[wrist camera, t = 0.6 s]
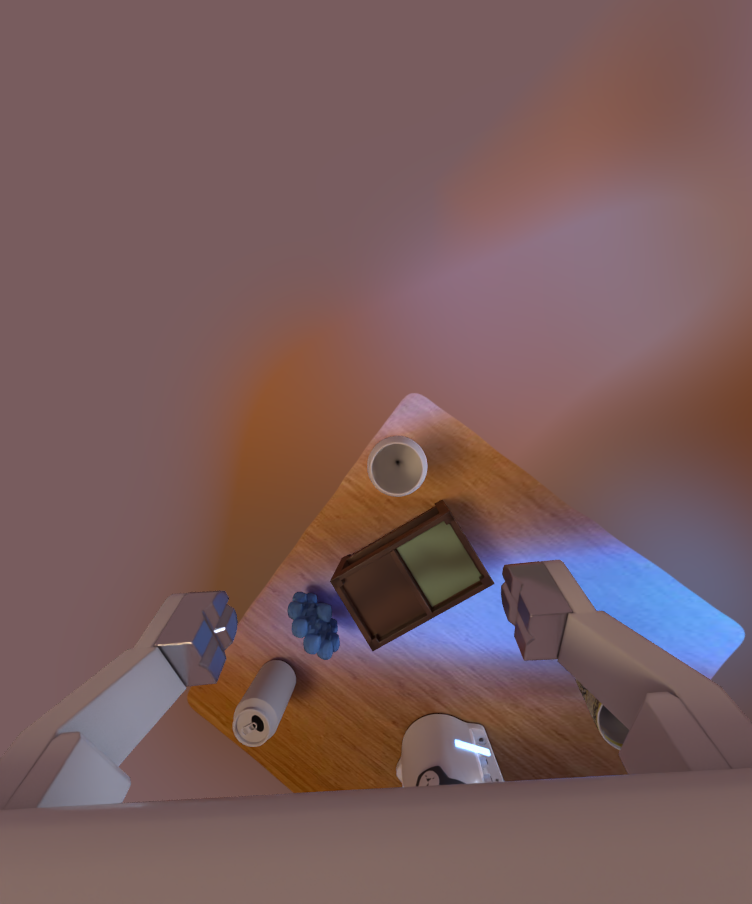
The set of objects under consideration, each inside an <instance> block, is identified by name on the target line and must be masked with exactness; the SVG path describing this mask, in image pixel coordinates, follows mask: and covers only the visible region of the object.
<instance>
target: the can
mask: <svg viewBox="0 0 752 904" xmlns="http://www.w3.org/2000/svg"><path fill="white" fill-rule="evenodd" d="M295 684H296V676H295V673H294V671H293V669H292V668H291V666H289V665H288V664H287V663H286V662H283V661H280V660H272V661H269V662H267V663H265V664H264V665H263V666H262V668H261V669H260V671H259V672H258V674H257V675H256V677H255V679H254V680H253V682H252V683H251V685H250V687H249V688H248V690H247V691H246V693H245V695H244V696H243V698H242V700H241V701H240V703H239V704H238V706H237V708H236V709H235V713H234V721H233V732H234V735H235V736H236V738H237V739H238V741H240V742H241V743H242V744H244V745H246V746H249V747H256V746H260V745H262V744H263V743H265V742H266V740H268V739H269V738H271V737H272V736H273V734H274V733H275V731H276V729H277V727H278V724H279V722H280V720H281V718H282V715H283V713H284V711H285V708H286V706H287V704H288V701H289V699H290V697H291V695H292V692H293V690H294V687H295Z"/></svg>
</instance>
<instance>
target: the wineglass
mask: <svg viewBox="0 0 752 904" xmlns="http://www.w3.org/2000/svg"><path fill="white" fill-rule="evenodd" d="M367 470H368V475H369V478H370V480H371V482H372V483H373V485H374V486H375V487H376V488H377V489H378V490H379V491H381V492H382V493H384V494H386V495H389V496H395V497H400V496H405V495H408V494H410V493H412V492H414V491H415V490H417V489H418V488H419V487H420V486H421V484H422V483H423V481H424V479H425V477H426V474H427V459H426V456H425V453H424V451H423V450H422V448H421V447H420V446H419V445H418V444H417V443H416V442H415V441H413V440H411V439H409V438H407V437H404V436H392V437H388V438H385V439H383V440H382V441H380V442H379V443H378V444H376V445H375V447H374V448H373V449H372V451H371V453H370V455H369V458H368V462H367Z"/></svg>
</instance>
